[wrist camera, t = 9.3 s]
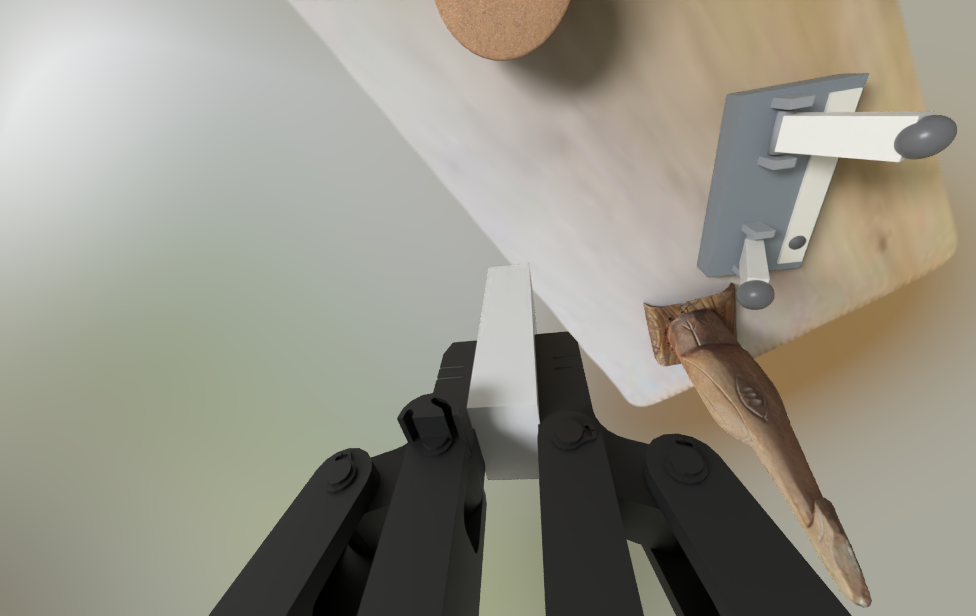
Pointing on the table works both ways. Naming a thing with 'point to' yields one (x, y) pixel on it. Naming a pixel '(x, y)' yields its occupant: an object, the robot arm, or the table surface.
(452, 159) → the table surface
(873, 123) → the marked lever
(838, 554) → the bird sculpture
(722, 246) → the switch unit
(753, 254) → the lever
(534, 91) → the table surface
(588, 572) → the robot arm
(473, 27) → the lidded jar
